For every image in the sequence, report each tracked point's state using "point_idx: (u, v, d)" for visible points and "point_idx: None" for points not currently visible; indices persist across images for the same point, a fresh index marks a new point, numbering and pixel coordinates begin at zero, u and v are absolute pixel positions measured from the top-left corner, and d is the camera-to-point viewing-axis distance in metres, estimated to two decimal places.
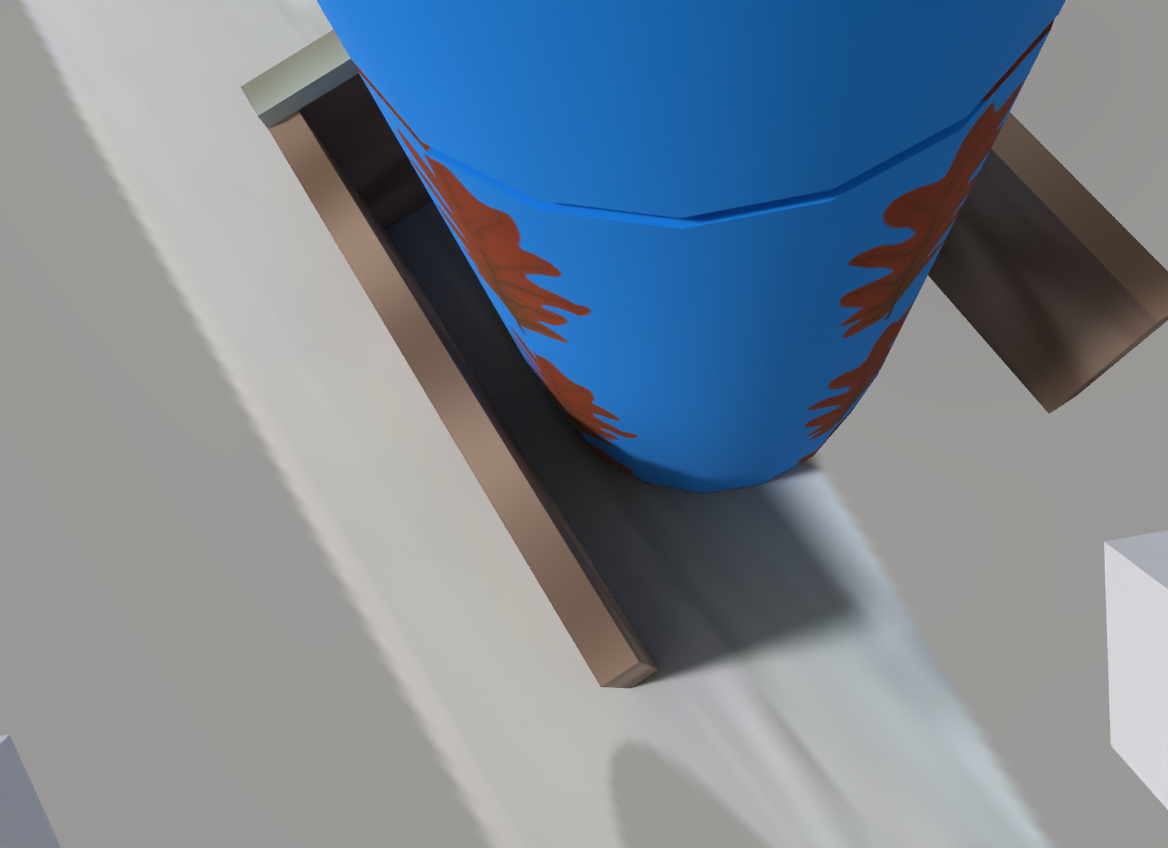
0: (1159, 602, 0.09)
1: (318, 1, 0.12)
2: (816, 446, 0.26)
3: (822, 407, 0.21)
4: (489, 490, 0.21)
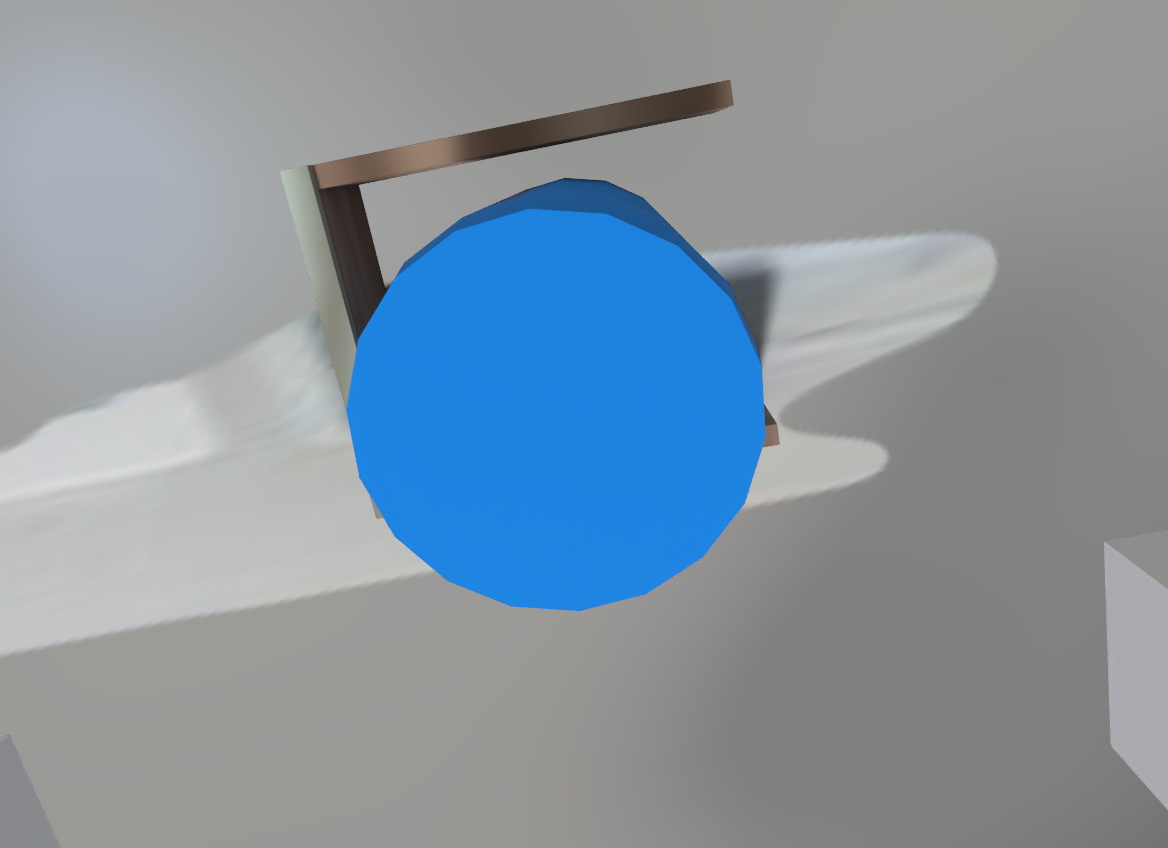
0: (1160, 602, 0.09)
1: None
2: None
3: None
4: None
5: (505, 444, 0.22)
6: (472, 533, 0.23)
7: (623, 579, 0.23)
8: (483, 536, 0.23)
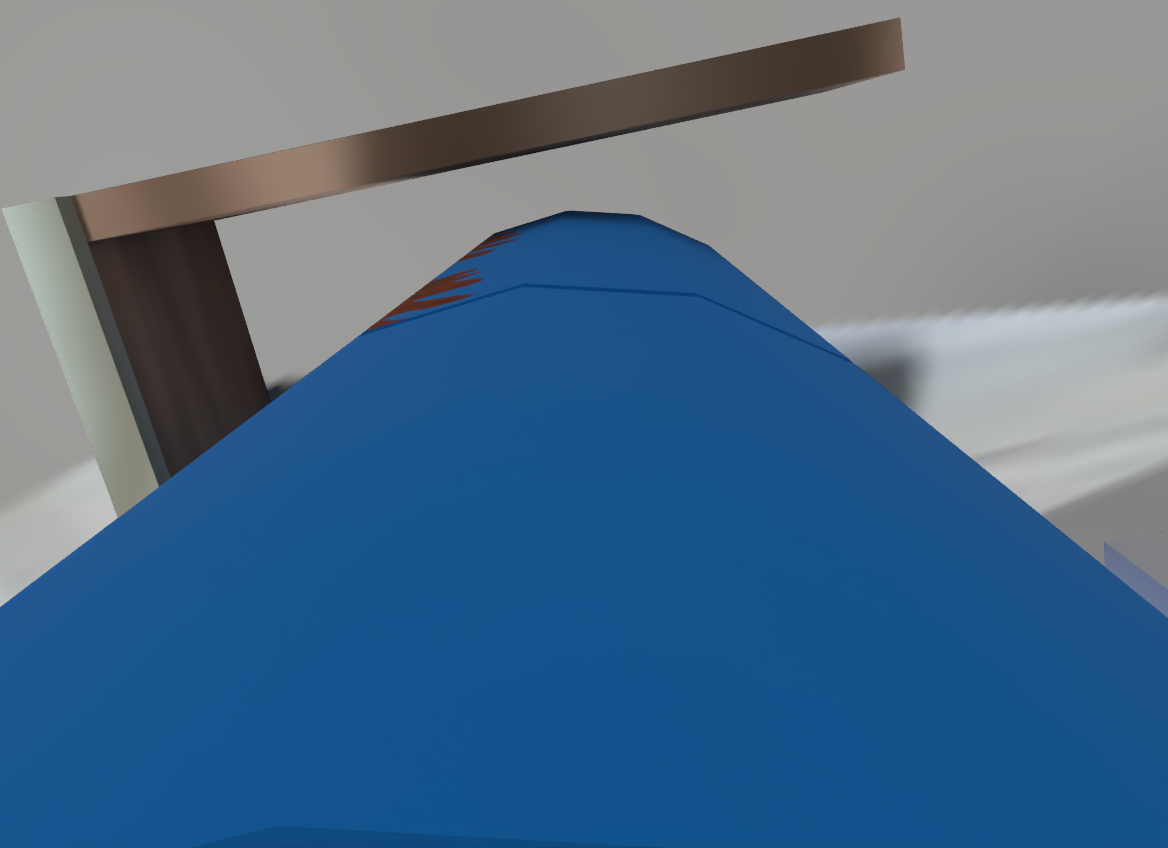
0: (1160, 602, 0.09)
1: None
2: None
3: None
4: None
5: None
6: None
7: None
8: None
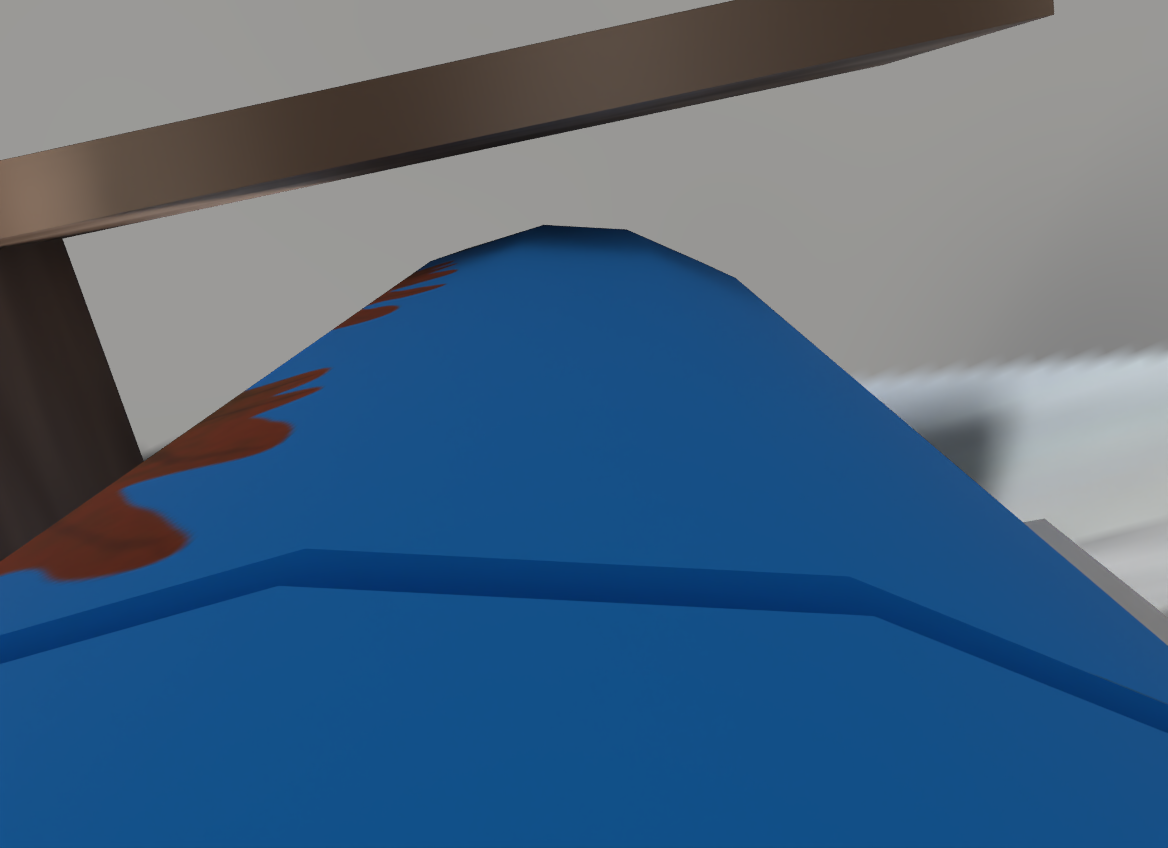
0: None
1: None
2: None
3: None
4: None
5: None
6: None
7: None
8: None
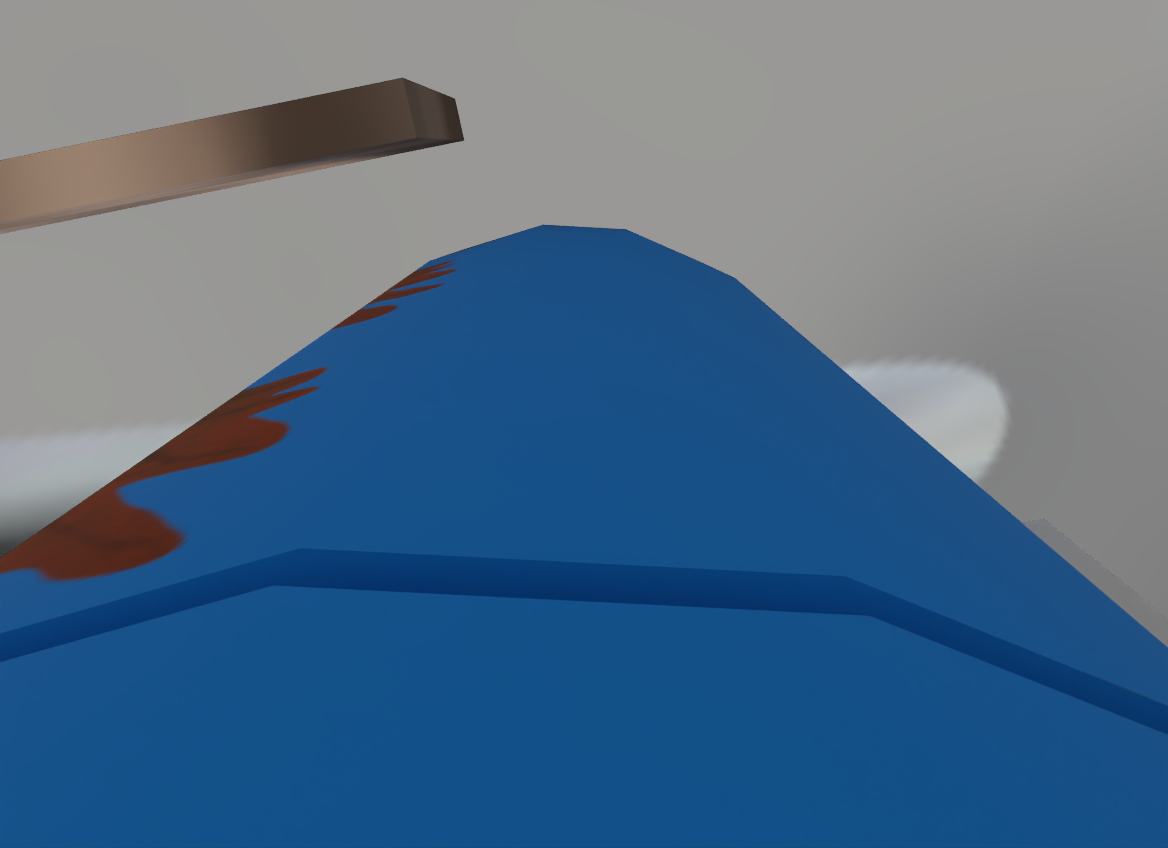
0: None
1: None
2: None
3: None
4: None
5: None
6: None
7: None
8: None
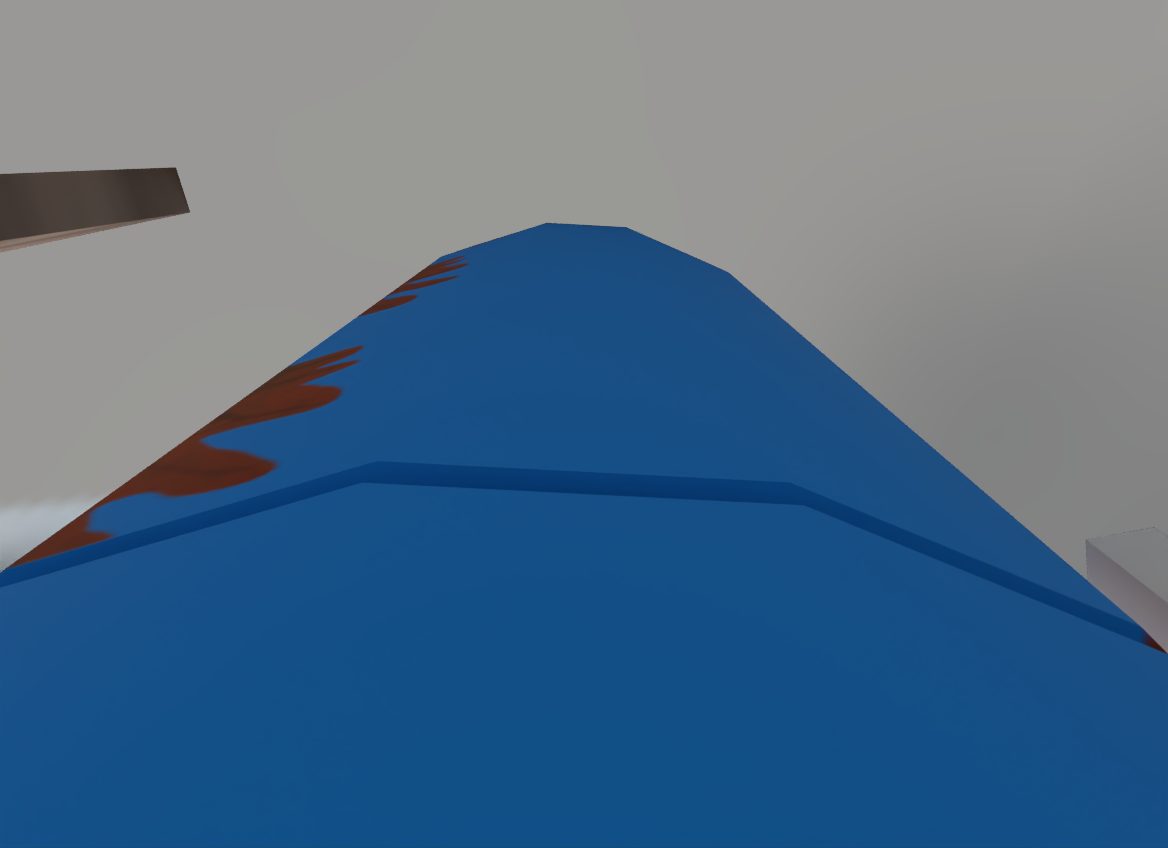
0: (1139, 599, 0.09)
1: None
2: None
3: None
4: None
5: None
6: None
7: None
8: None
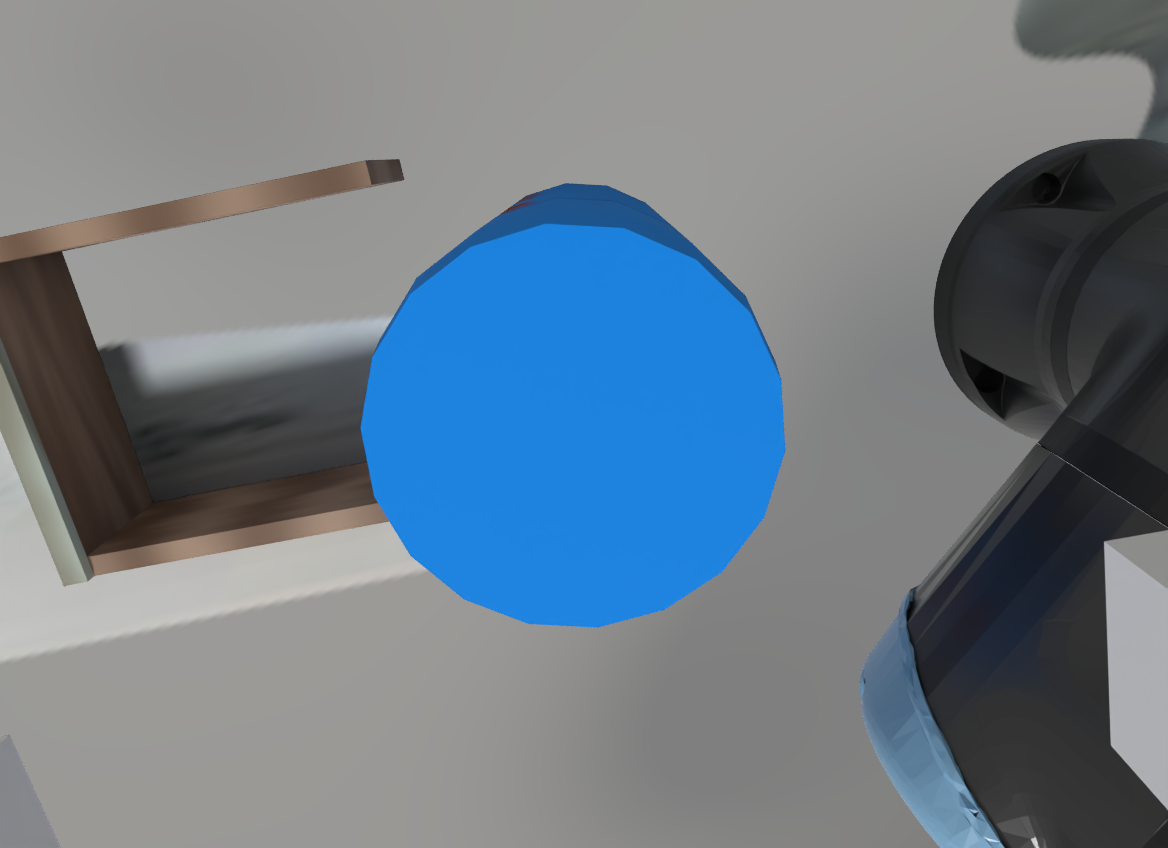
0: (1160, 602, 0.09)
1: None
2: None
3: None
4: (347, 526, 0.42)
5: (522, 461, 0.22)
6: (489, 551, 0.23)
7: (641, 595, 0.23)
8: (500, 554, 0.23)
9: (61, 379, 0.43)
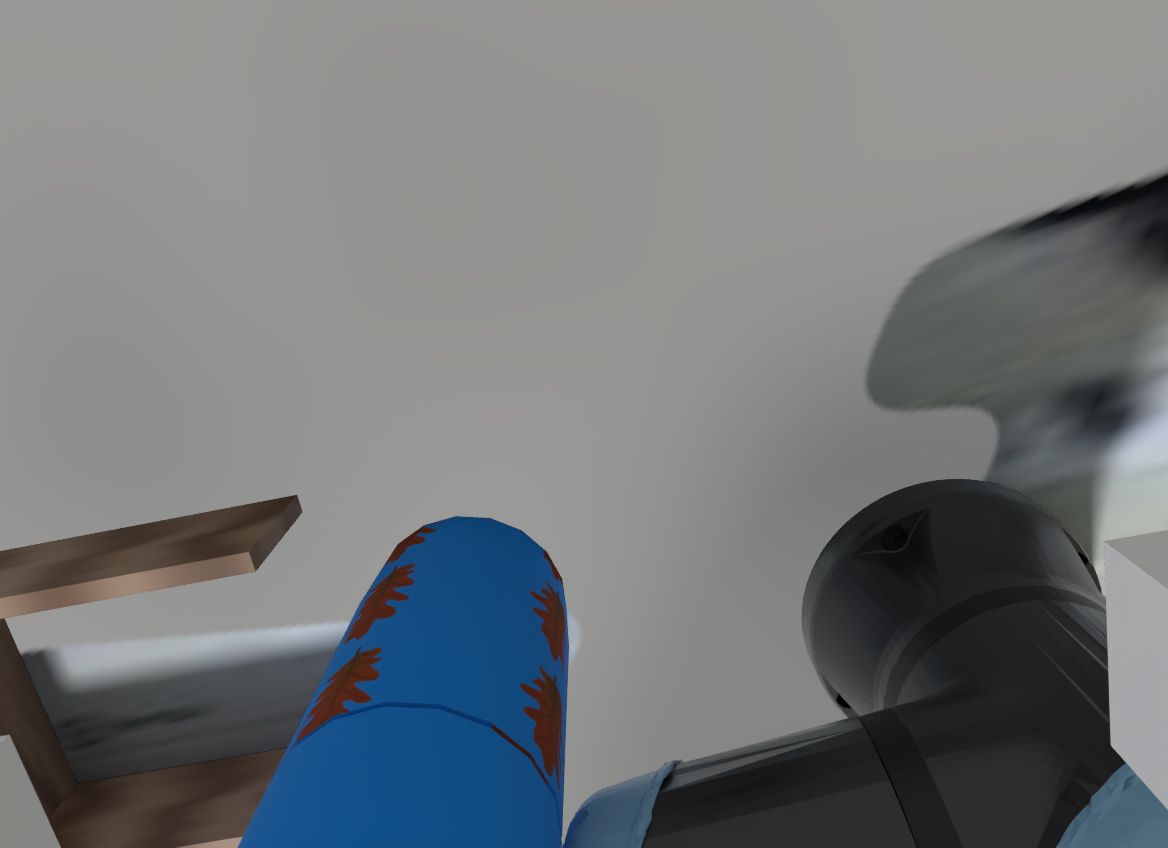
0: (1159, 602, 0.09)
1: None
2: (563, 595, 0.47)
3: (564, 652, 0.42)
4: None
5: None
6: None
7: None
8: None
9: None
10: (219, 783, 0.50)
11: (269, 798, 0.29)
